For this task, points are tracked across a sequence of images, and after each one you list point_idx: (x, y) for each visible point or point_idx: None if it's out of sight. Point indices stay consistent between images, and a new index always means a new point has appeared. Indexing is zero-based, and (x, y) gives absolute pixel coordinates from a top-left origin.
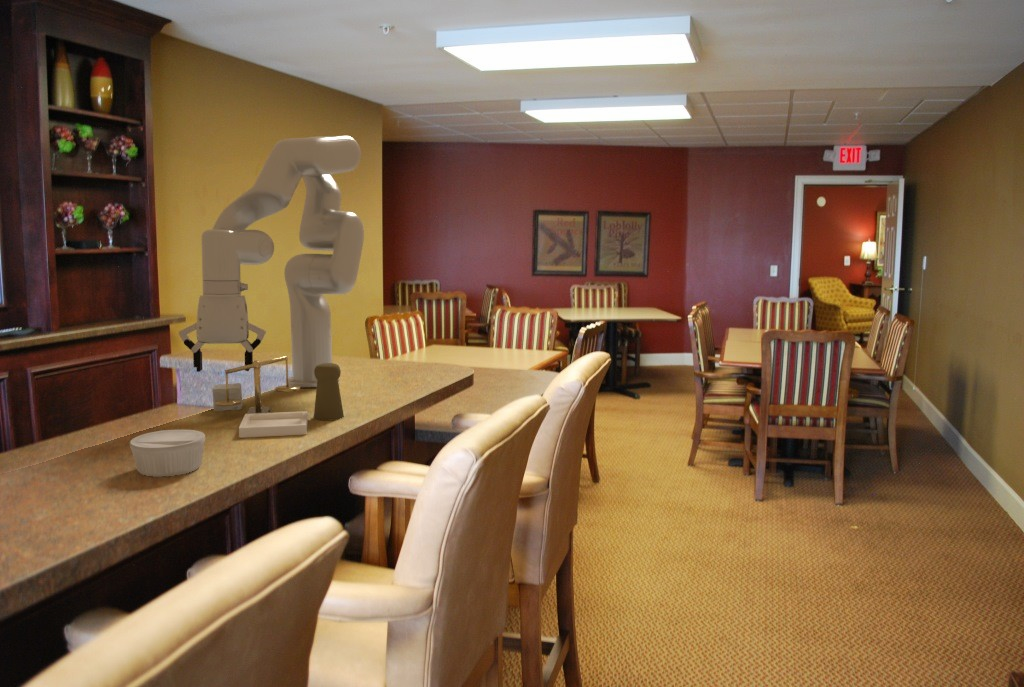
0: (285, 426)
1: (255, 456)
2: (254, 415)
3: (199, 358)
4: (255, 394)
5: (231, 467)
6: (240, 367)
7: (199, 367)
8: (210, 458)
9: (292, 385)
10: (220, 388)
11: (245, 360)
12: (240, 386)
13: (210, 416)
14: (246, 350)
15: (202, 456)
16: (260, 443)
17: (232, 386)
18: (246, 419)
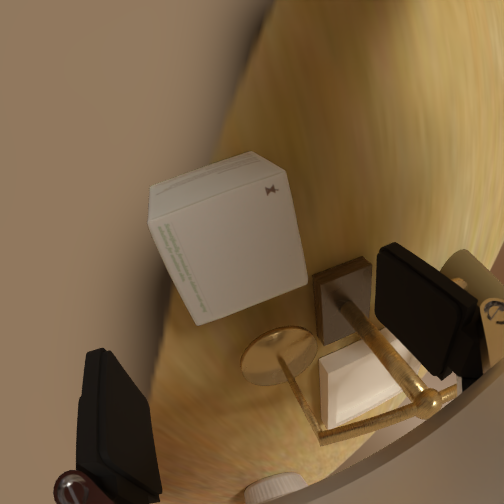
0: (389, 398)
1: (345, 443)
2: (345, 369)
3: (155, 467)
4: (366, 344)
5: (326, 463)
6: (376, 429)
7: (147, 420)
8: (301, 462)
9: (459, 282)
10: (227, 310)
11: (411, 348)
12: (299, 235)
13: (208, 331)
14: (456, 370)
15: (304, 480)
16: (350, 420)
17: (271, 266)
18: (334, 400)
